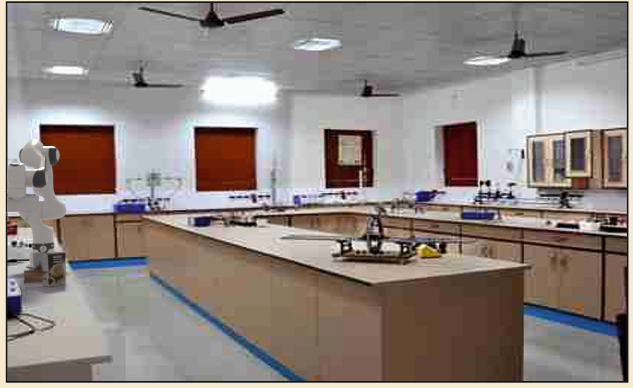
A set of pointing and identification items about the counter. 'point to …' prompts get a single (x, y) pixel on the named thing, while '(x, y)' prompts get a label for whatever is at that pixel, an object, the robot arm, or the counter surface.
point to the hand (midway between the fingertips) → (17, 220)
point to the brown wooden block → (33, 276)
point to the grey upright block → (38, 261)
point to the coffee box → (54, 269)
